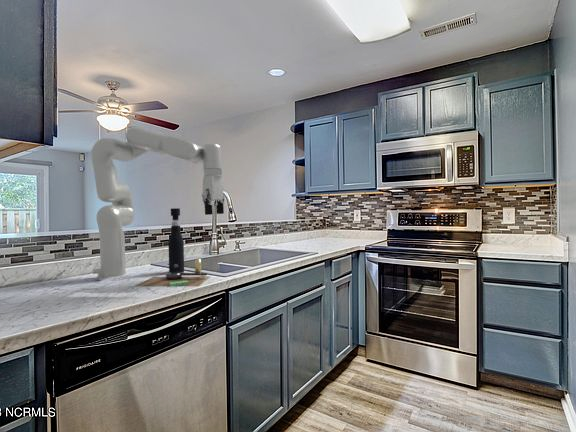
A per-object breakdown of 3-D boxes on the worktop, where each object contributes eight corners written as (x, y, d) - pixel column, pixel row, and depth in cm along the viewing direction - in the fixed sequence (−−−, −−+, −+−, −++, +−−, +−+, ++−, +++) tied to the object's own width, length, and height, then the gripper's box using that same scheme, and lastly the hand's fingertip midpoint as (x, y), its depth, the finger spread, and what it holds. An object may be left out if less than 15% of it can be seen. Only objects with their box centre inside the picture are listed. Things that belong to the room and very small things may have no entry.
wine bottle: (179, 273, 147) (177, 208, 146) (187, 275, 143) (185, 208, 142) (166, 275, 142) (164, 208, 141) (174, 277, 138) (172, 208, 137)
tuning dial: (163, 279, 126) (163, 261, 126) (169, 276, 132) (169, 258, 132) (204, 279, 126) (204, 260, 126) (209, 276, 132) (208, 258, 132)
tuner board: (133, 290, 117) (133, 283, 117) (153, 280, 133) (153, 274, 133) (198, 290, 116) (198, 283, 116) (210, 280, 132) (210, 274, 132)
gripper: (215, 176, 144) (216, 213, 144) (193, 172, 127) (195, 215, 128) (230, 174, 142) (231, 213, 142) (210, 171, 125) (212, 214, 126)
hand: (214, 214), depth 135 cm, fingers open, 9 cm apart
